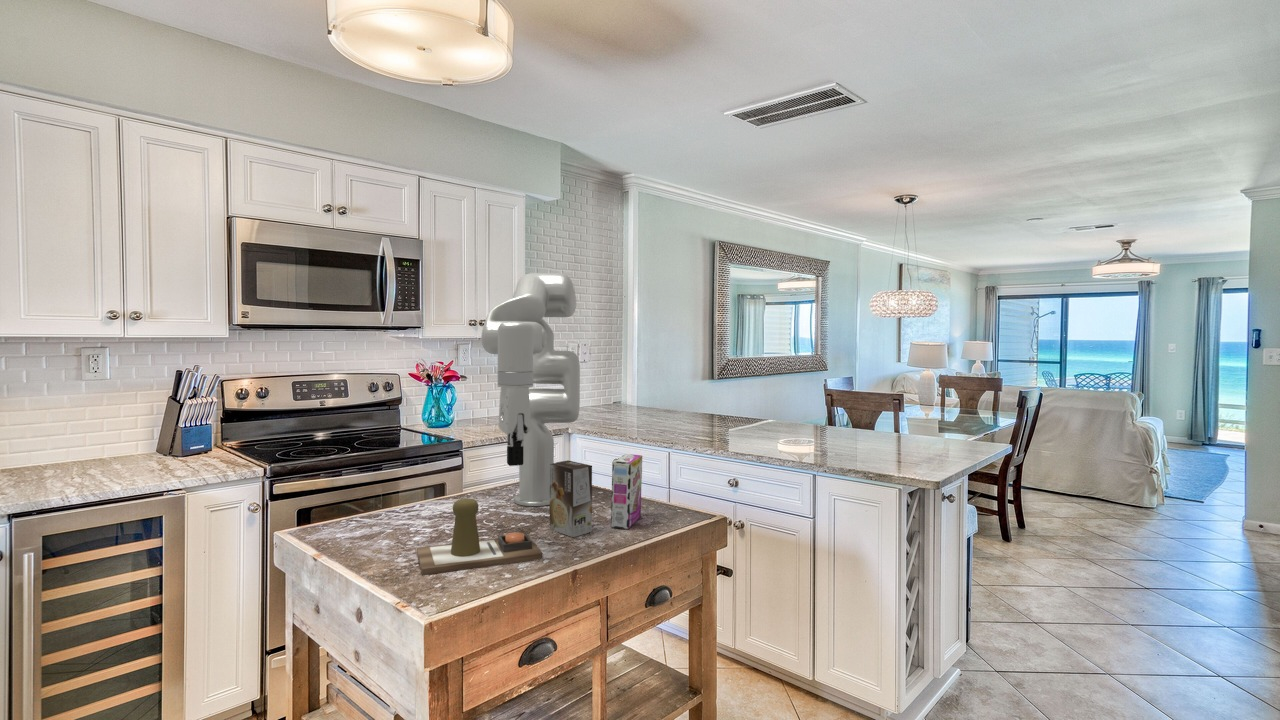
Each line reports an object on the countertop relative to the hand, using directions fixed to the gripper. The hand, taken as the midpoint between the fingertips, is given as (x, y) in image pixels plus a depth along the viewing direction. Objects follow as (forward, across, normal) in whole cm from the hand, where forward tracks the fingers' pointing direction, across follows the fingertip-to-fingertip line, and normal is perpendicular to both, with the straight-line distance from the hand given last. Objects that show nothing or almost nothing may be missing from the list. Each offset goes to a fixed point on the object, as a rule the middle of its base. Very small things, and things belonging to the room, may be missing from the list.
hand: (515, 464), depth 135 cm
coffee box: (+19, -9, +15) cm, 26 cm away
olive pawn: (+18, 0, -10) cm, 21 cm away
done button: (+17, 0, 0) cm, 17 cm away
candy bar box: (+19, -10, +30) cm, 37 cm away
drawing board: (+19, 0, -8) cm, 20 cm away
